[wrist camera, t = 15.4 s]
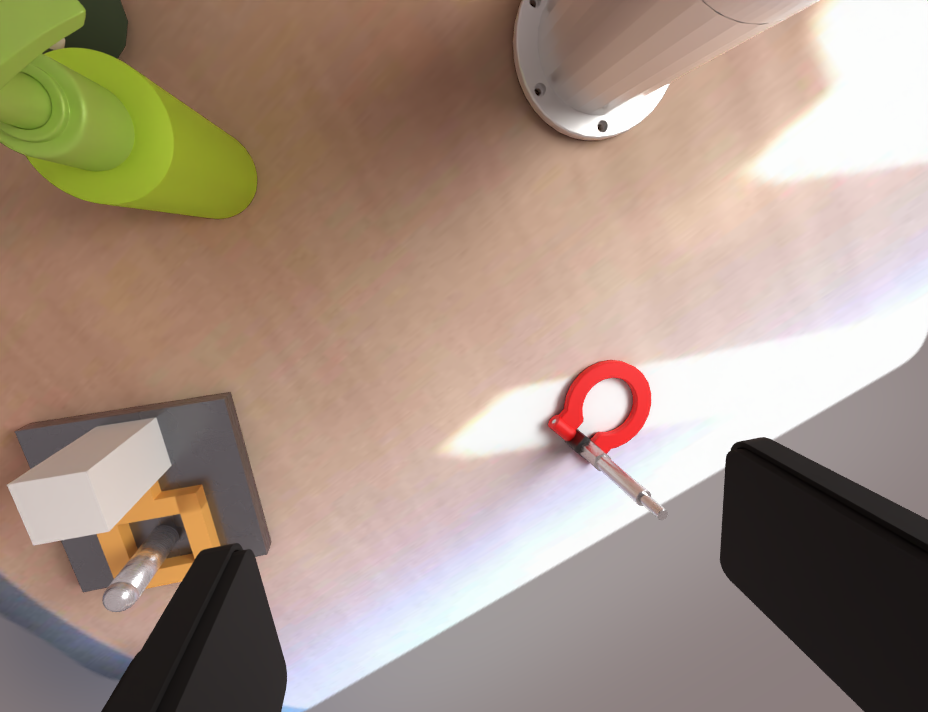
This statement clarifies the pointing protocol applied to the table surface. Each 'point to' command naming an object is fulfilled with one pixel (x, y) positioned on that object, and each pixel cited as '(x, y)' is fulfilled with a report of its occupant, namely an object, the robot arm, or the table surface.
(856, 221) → the table surface
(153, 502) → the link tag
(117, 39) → the character mug
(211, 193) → the soap dispenser
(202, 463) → the plate
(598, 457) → the tow hook
